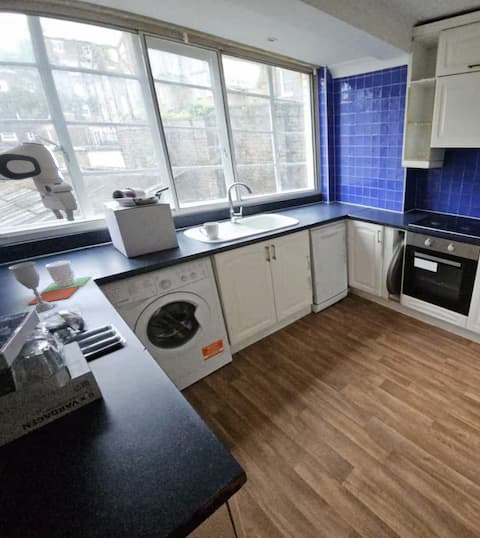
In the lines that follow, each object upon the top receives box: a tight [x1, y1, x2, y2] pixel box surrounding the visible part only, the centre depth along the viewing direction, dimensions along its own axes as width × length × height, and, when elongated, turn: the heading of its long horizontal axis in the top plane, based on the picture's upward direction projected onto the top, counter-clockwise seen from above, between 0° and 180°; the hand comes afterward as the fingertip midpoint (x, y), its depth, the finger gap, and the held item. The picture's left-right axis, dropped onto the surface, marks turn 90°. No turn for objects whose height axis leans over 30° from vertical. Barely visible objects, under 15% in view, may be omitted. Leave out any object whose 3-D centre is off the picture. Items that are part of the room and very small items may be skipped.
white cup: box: [44, 259, 77, 287], centre depth 131 cm, size 8×8×10 cm
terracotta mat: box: [28, 287, 79, 306], centre depth 123 cm, size 12×11×1 cm
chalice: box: [8, 261, 54, 313], centre depth 110 cm, size 7×7×18 cm
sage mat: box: [42, 276, 90, 293], centre depth 133 cm, size 13×11×1 cm
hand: (65, 219), depth 124 cm, fingers open, 8 cm apart
